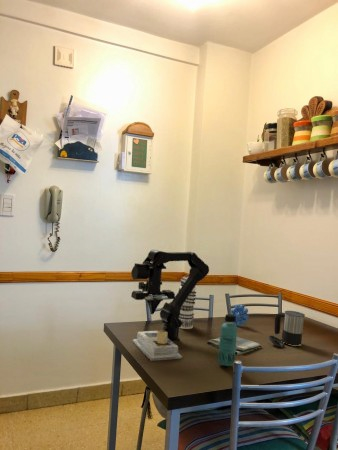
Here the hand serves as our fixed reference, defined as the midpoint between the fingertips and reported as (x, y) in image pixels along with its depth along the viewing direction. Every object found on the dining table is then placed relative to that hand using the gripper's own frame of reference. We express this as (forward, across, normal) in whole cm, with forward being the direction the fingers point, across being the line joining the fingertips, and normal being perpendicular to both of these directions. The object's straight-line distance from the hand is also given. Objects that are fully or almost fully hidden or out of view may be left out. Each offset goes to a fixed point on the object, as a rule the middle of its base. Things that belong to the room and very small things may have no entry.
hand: (151, 314), depth 168 cm
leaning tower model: (+12, -27, -16) cm, 33 cm away
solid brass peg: (+11, +2, +15) cm, 19 cm away
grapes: (+13, -57, -10) cm, 60 cm away
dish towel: (+13, -35, +15) cm, 40 cm away
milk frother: (+13, -61, +20) cm, 65 cm away
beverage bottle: (+12, -17, +34) cm, 39 cm away
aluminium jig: (+12, +2, +10) cm, 16 cm away
